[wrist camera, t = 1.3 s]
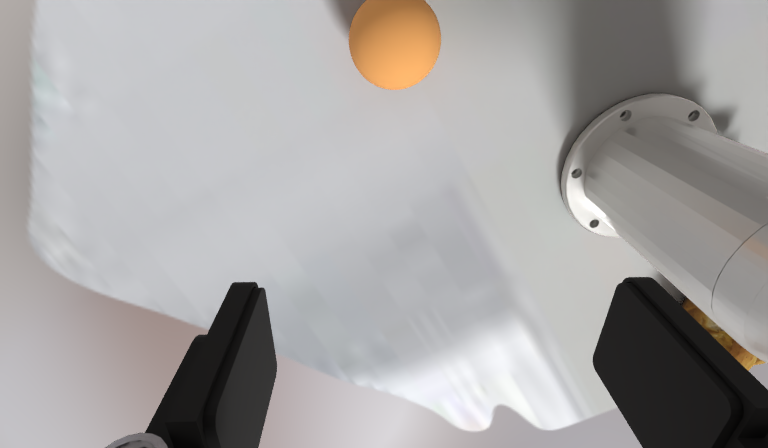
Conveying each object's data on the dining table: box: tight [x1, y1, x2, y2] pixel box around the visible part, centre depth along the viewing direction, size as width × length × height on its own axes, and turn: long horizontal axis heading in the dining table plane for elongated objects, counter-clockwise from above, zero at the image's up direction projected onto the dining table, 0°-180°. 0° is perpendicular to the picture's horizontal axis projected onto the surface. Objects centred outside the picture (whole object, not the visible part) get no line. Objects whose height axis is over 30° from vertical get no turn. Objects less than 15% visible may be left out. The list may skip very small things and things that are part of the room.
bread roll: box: [682, 298, 766, 371], centre depth 39 cm, size 13×10×8 cm
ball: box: [349, 0, 441, 90], centre depth 27 cm, size 6×6×6 cm
